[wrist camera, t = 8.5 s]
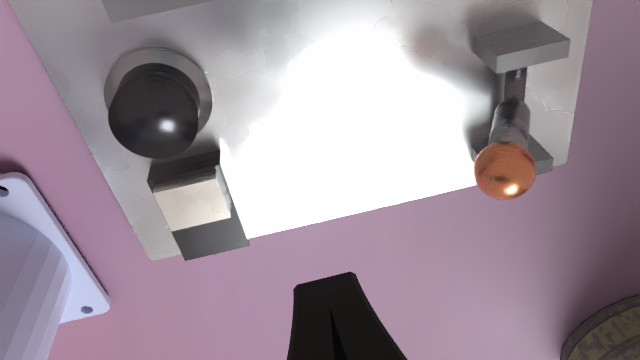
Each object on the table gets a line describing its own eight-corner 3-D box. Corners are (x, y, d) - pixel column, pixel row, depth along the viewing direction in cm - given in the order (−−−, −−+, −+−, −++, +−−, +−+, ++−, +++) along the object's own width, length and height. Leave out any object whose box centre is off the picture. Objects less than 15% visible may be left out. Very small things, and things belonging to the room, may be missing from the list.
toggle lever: (486, 136, 19) (468, 225, 16) (490, 60, 17) (470, 141, 14) (536, 138, 19) (529, 232, 15) (545, 60, 17) (540, 145, 13)
